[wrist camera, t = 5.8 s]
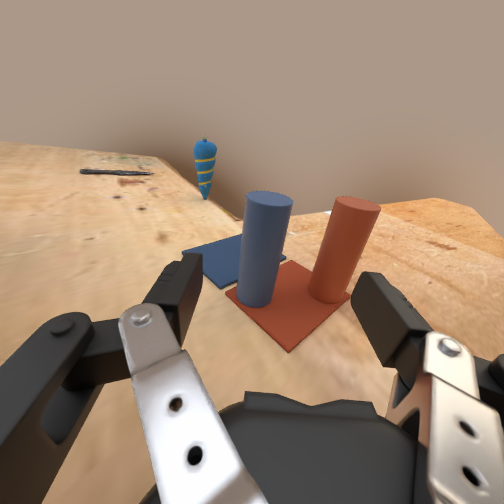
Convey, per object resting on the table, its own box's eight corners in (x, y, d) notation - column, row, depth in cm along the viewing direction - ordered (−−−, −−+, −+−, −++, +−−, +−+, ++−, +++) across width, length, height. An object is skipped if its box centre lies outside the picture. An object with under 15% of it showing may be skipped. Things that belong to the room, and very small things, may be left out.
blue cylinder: (228, 291, 26) (236, 193, 20) (254, 279, 29) (268, 188, 23) (253, 314, 24) (270, 208, 17) (279, 297, 26) (302, 201, 20)
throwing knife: (81, 170, 65) (81, 168, 65) (154, 172, 73) (154, 171, 72) (78, 174, 62) (77, 171, 61) (155, 176, 69) (154, 174, 69)
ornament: (216, 197, 58) (218, 134, 50) (213, 203, 54) (215, 135, 46) (197, 195, 58) (196, 131, 50) (192, 201, 53) (190, 132, 46)
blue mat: (181, 253, 33) (181, 251, 33) (245, 234, 41) (245, 232, 41) (220, 289, 27) (220, 286, 27) (286, 258, 35) (286, 256, 35)
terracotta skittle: (301, 289, 28) (328, 199, 22) (319, 277, 31) (347, 194, 25) (331, 309, 26) (371, 213, 20) (347, 294, 28) (387, 206, 22)
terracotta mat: (224, 293, 26) (225, 291, 26) (291, 261, 34) (291, 259, 34) (288, 353, 20) (289, 350, 20) (350, 297, 29) (351, 295, 28)
